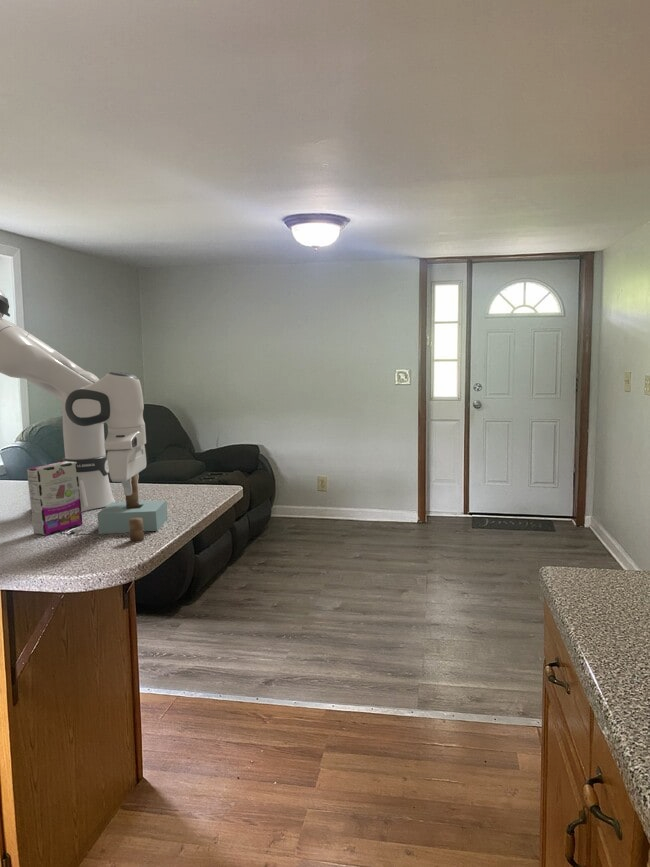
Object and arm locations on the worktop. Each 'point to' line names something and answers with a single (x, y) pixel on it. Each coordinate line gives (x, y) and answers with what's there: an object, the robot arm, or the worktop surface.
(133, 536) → the short dowel
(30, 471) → the candy bar box
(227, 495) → the worktop surface
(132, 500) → the long dowel
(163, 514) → the hole block
